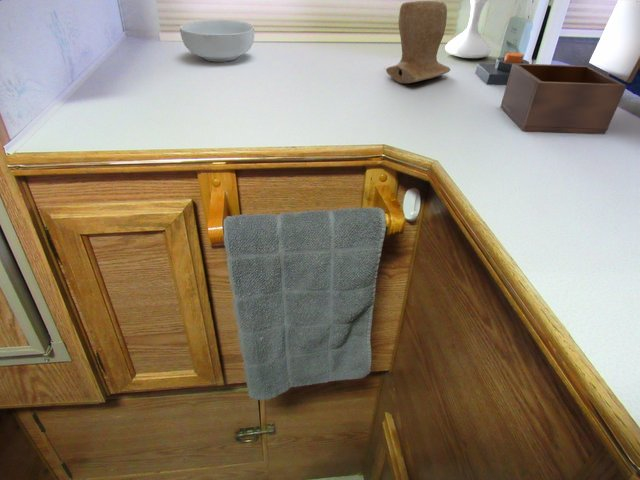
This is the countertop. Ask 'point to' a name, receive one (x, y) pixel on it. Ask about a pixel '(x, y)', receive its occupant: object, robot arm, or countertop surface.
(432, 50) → the brown flared post
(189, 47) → the cereal bowl
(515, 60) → the button
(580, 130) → the chest
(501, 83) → the button block
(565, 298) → the countertop surface
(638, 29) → the lid
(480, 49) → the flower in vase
